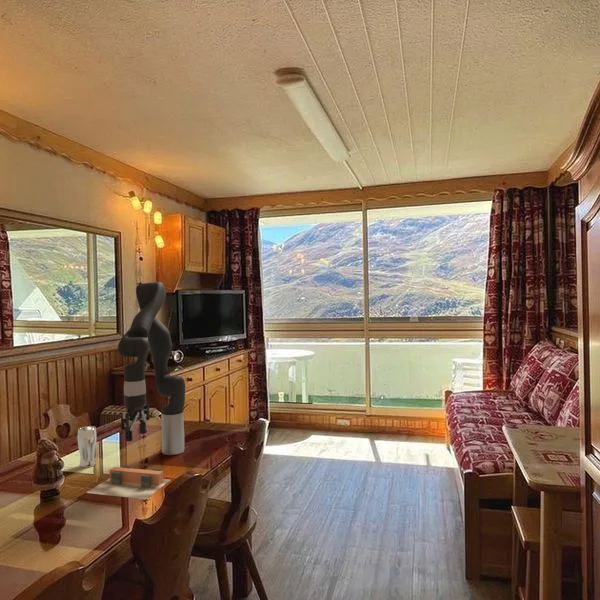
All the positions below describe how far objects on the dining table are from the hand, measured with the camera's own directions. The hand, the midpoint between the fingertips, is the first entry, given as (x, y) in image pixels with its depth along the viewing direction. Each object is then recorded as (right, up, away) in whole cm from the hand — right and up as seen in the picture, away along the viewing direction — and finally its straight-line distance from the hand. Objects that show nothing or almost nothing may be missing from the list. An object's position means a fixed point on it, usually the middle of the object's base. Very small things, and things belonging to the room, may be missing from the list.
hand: (136, 437), depth 170 cm
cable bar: (0, -16, 0) cm, 16 cm away
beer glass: (-27, -18, +21) cm, 38 cm away
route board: (-1, -17, -4) cm, 18 cm away
